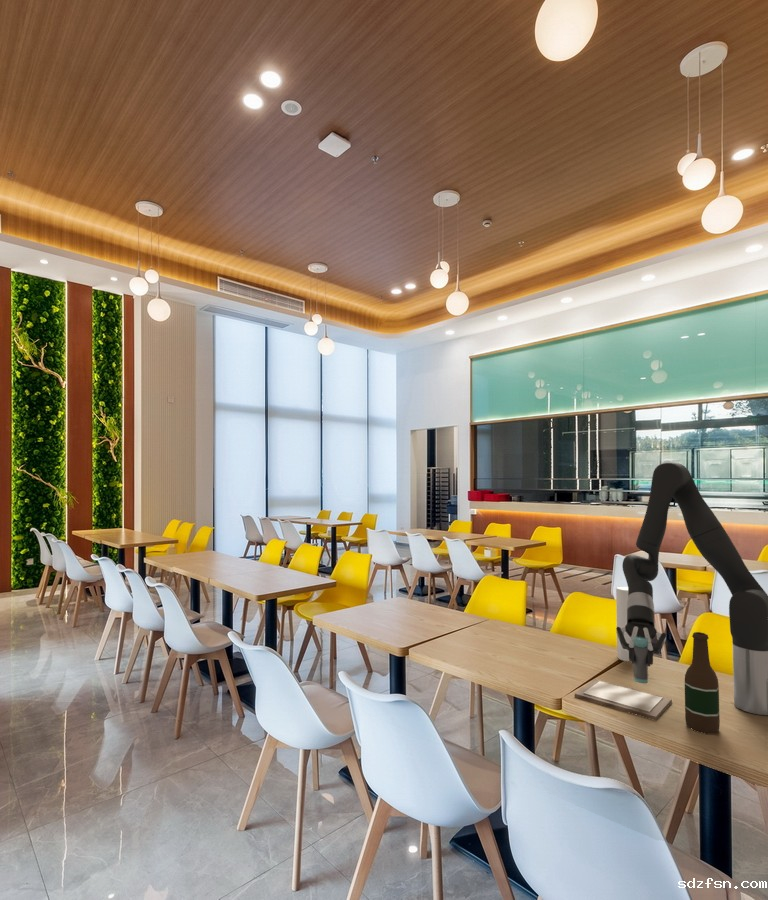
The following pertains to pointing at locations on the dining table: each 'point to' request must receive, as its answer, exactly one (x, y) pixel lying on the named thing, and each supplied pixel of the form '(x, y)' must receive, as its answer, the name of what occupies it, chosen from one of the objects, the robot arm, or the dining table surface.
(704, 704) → the beer bottle
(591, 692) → the writing board
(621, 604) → the cylindrical container
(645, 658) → the teal-capped glass tube
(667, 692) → the dining table surface
